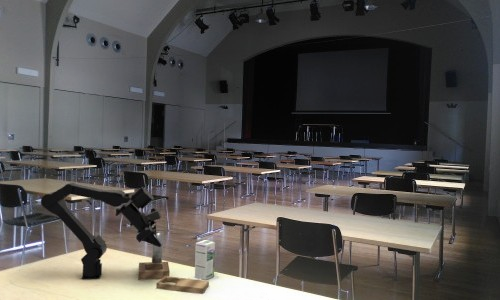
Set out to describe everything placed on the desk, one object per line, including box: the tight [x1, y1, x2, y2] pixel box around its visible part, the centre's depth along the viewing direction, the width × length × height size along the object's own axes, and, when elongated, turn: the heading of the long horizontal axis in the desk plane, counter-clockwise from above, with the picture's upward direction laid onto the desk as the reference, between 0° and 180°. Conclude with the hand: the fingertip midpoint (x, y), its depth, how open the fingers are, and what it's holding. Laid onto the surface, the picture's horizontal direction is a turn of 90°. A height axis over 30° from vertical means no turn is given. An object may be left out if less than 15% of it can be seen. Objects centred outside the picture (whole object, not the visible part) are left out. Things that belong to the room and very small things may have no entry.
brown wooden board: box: [155, 275, 210, 295], centre depth 159 cm, size 18×8×2 cm, turn 79°
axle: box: [151, 230, 165, 264], centre depth 168 cm, size 4×4×12 cm
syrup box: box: [194, 239, 216, 281], centre depth 171 cm, size 6×6×14 cm
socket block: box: [137, 261, 171, 281], centre depth 172 cm, size 12×12×3 cm
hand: (161, 244), depth 168 cm, fingers closed on axle, 4 cm apart
